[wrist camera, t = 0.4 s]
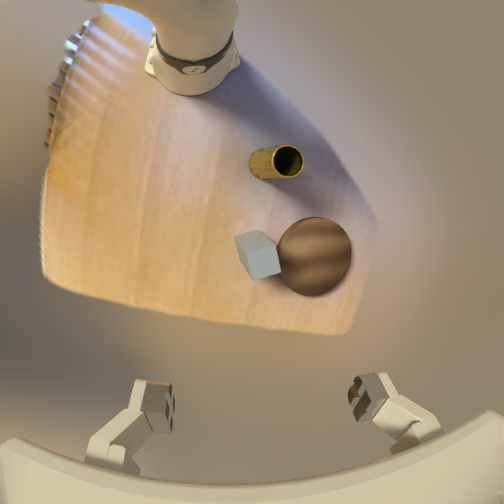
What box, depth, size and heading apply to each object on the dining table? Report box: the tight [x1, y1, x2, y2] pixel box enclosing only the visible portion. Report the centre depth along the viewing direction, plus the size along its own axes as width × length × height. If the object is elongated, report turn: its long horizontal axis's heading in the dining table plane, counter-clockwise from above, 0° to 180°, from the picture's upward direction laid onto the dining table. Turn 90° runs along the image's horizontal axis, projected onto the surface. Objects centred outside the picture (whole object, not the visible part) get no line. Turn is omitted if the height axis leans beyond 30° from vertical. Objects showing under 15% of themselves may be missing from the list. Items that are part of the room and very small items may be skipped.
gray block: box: [234, 230, 281, 281], centre depth 50 cm, size 5×5×12 cm
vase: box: [249, 144, 305, 179], centre depth 45 cm, size 6×6×14 cm
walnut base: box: [277, 217, 351, 296], centre depth 58 cm, size 17×17×3 cm
